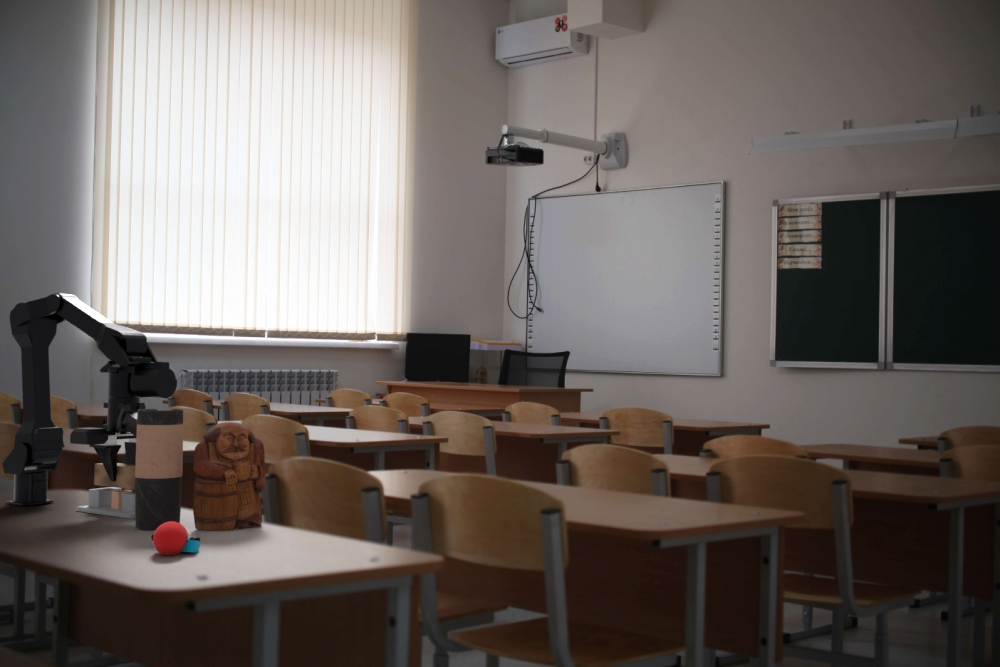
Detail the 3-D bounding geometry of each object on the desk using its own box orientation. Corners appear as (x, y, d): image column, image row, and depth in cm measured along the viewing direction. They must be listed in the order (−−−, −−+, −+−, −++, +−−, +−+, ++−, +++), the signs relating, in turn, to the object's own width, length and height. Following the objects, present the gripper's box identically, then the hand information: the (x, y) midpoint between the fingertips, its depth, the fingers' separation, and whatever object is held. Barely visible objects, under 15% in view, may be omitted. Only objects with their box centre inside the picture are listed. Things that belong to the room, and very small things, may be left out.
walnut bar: (94, 484, 187) (94, 463, 187) (110, 483, 190) (110, 462, 190) (134, 489, 181) (135, 467, 181) (150, 487, 184) (151, 466, 184)
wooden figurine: (207, 533, 162) (210, 423, 163) (188, 529, 166) (191, 422, 167) (270, 526, 170) (272, 421, 171) (250, 522, 175) (252, 420, 176)
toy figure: (152, 554, 153) (138, 554, 139) (156, 521, 154) (143, 518, 140) (202, 556, 155) (194, 557, 140) (206, 524, 156) (198, 522, 142)
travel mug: (150, 532, 163) (153, 410, 163) (124, 527, 167) (127, 409, 168) (190, 527, 169) (193, 409, 170) (164, 522, 173) (166, 408, 174)
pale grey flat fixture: (76, 510, 186) (77, 489, 186) (117, 505, 194) (118, 485, 194) (130, 518, 177) (131, 496, 178) (171, 512, 185) (172, 491, 185)
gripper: (107, 399, 174) (105, 488, 173) (192, 397, 189) (190, 479, 189) (69, 397, 180) (66, 483, 179) (155, 396, 195) (152, 475, 195)
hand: (122, 480), depth 185 cm, fingers closed on walnut bar, 3 cm apart
